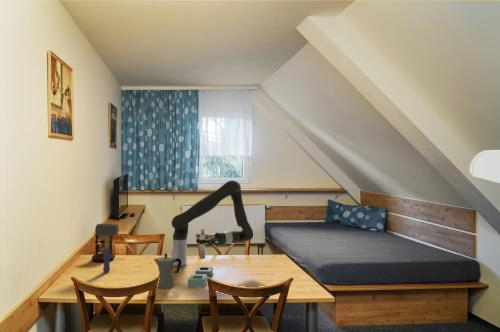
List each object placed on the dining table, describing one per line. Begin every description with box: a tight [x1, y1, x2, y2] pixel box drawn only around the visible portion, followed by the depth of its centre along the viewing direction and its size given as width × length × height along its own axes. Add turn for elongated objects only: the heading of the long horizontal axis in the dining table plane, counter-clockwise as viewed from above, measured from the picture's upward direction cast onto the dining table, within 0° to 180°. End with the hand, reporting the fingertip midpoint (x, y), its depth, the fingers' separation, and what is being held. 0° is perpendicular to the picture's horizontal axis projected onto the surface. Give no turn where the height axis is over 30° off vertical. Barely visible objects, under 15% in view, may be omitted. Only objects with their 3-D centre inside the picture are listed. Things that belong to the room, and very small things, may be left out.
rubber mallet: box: [95, 222, 120, 273], centre depth 221 cm, size 12×8×30 cm, turn 93°
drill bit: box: [198, 228, 206, 260], centre depth 211 cm, size 3×3×17 cm
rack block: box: [187, 273, 207, 288], centre depth 204 cm, size 9×9×4 cm
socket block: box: [194, 265, 214, 277], centre depth 219 cm, size 9×9×4 cm
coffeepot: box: [153, 253, 182, 290], centre depth 200 cm, size 15×9×18 cm, turn 89°
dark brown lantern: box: [91, 233, 116, 262], centre depth 247 cm, size 15×15×20 cm
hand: (198, 241), depth 209 cm, fingers closed on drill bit, 3 cm apart
